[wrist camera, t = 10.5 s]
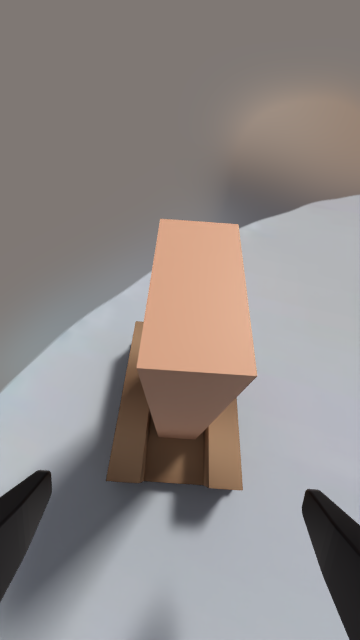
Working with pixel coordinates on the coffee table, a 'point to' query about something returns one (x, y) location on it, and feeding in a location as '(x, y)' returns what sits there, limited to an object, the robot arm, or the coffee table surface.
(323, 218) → the coffee table surface
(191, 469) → the rack
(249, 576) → the coffee table surface
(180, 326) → the peach rectangular block
